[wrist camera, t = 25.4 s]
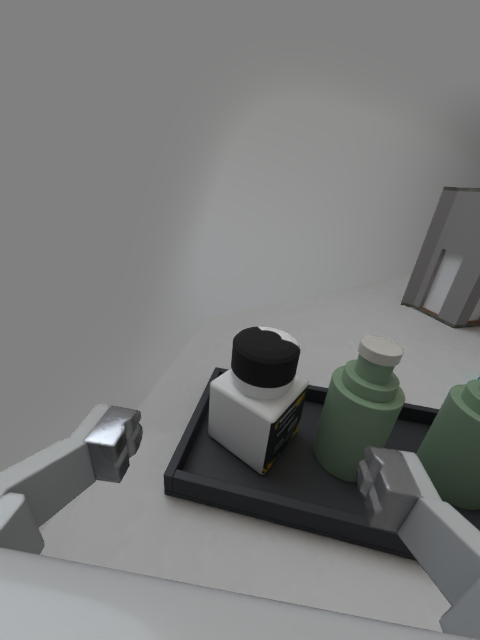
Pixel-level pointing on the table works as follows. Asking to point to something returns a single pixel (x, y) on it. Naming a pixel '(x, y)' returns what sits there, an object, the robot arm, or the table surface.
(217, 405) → the medicine bottle
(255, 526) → the table surface
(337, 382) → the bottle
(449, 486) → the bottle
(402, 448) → the tray
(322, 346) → the table surface
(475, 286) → the grey toy building
